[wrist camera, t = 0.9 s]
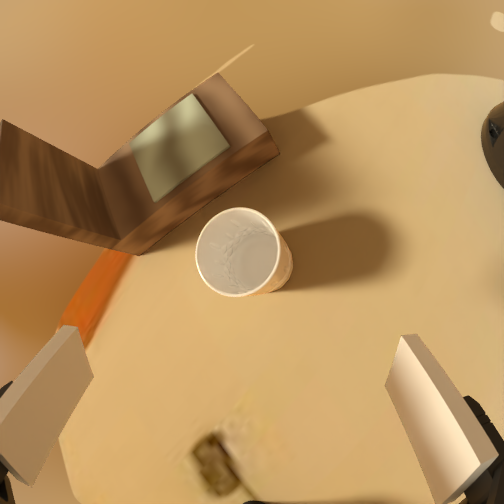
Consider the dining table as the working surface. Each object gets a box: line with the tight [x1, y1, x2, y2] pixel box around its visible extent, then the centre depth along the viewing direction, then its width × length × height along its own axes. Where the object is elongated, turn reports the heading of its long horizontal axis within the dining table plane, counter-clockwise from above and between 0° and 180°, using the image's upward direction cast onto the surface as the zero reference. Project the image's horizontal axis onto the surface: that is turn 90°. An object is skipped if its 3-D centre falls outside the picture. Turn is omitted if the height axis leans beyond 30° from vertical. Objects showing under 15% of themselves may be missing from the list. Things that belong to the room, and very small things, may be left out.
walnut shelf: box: [0, 73, 280, 256], centre depth 30 cm, size 24×13×24 cm, turn 122°
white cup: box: [196, 207, 293, 297], centre depth 31 cm, size 8×8×10 cm
